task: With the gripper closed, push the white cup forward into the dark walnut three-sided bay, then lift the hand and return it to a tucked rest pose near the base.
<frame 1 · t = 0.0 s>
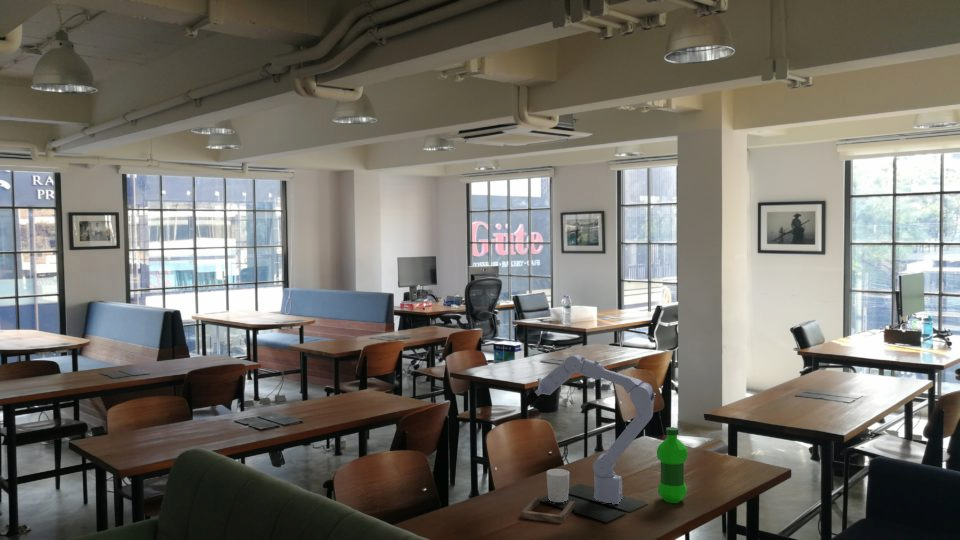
hand: (527, 402, 277), 32 cm above the table, tool tilted 50°, fingers open, 7 cm apart
white cup: (558, 501, 268), on the table
plastic bottle: (672, 501, 267), on the table
walnut bay: (548, 511, 258), on the table
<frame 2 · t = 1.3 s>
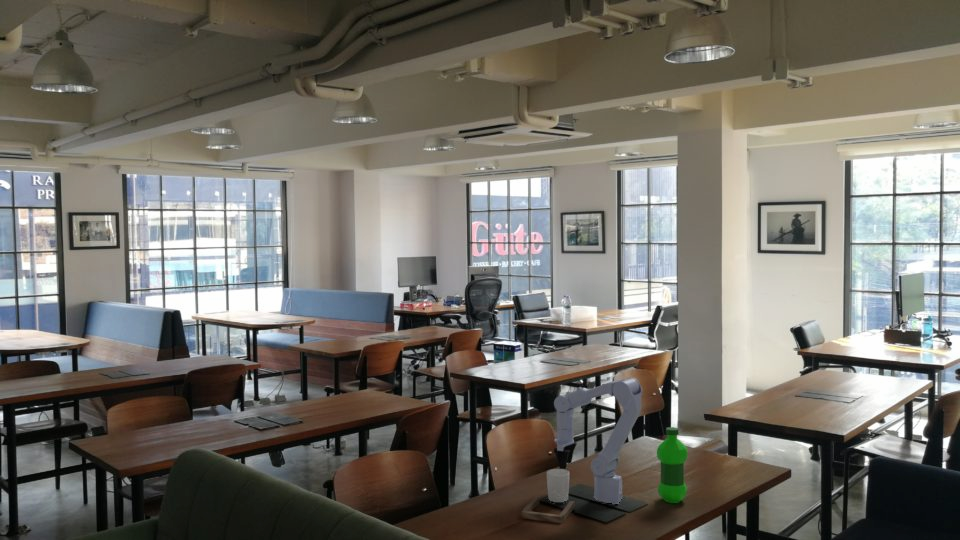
hand: (565, 465, 277), 9 cm above the table, tool pointing down, fingers open, 7 cm apart
nothing on the table moved.
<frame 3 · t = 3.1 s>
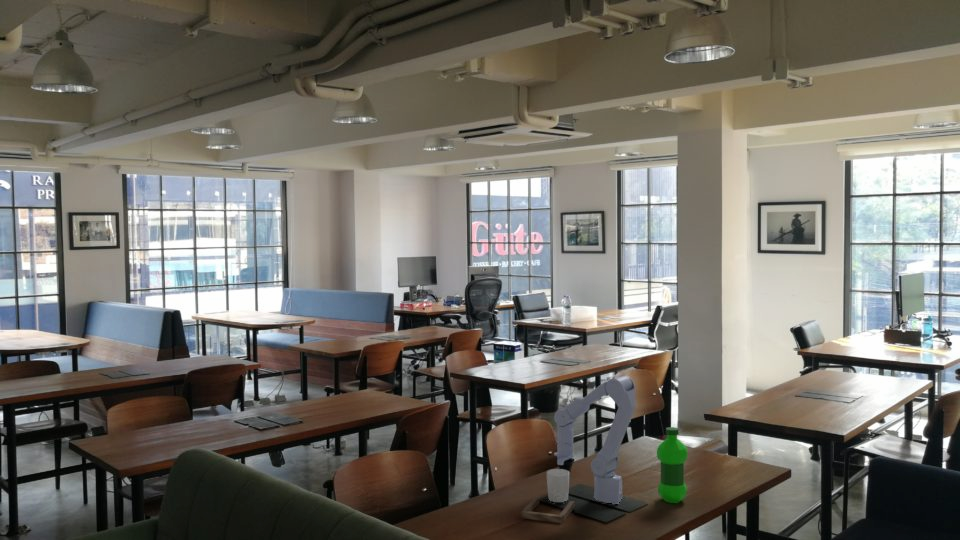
hand: (565, 479, 278), 4 cm above the table, tool pointing down, fingers closed
nothing on the table moved.
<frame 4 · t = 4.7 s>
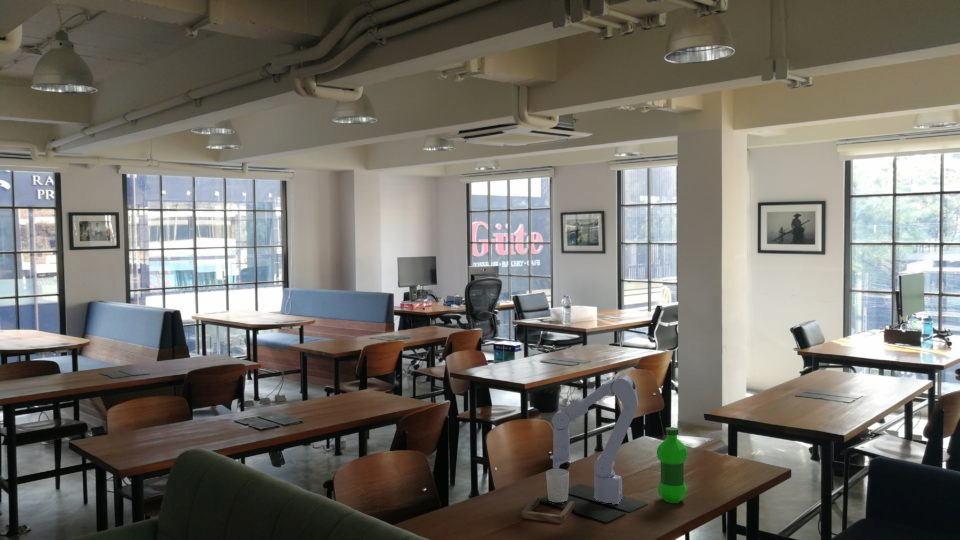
hand: (561, 483, 273), 5 cm above the table, tool pointing down, fingers closed, pressing on white cup
white cup: (558, 501, 268), on the table, touching gripper
everything else where it was.
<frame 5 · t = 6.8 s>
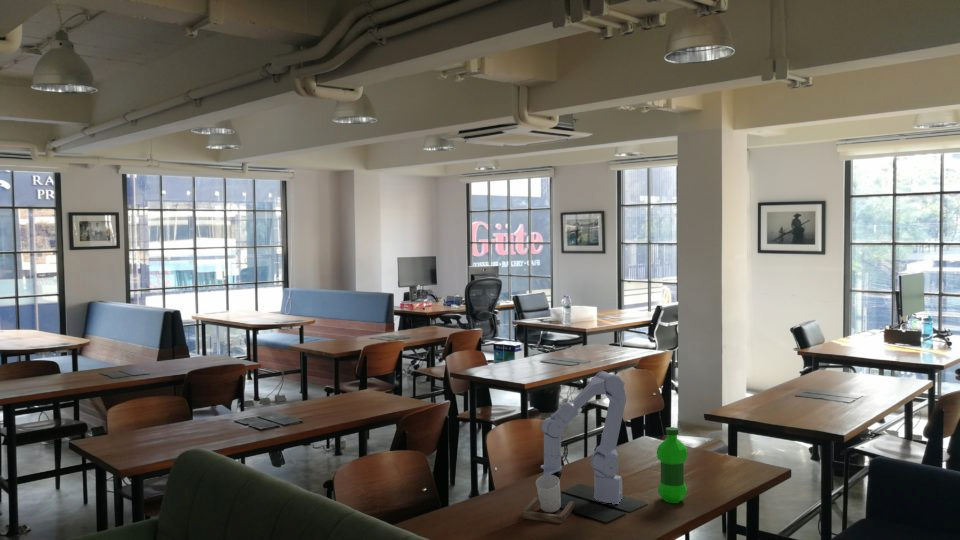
hand: (552, 493, 262), 5 cm above the table, tool pointing down, fingers closed, pressing on white cup
white cup: (550, 506, 260), point 1 cm above the table, touching gripper
everything else where it was.
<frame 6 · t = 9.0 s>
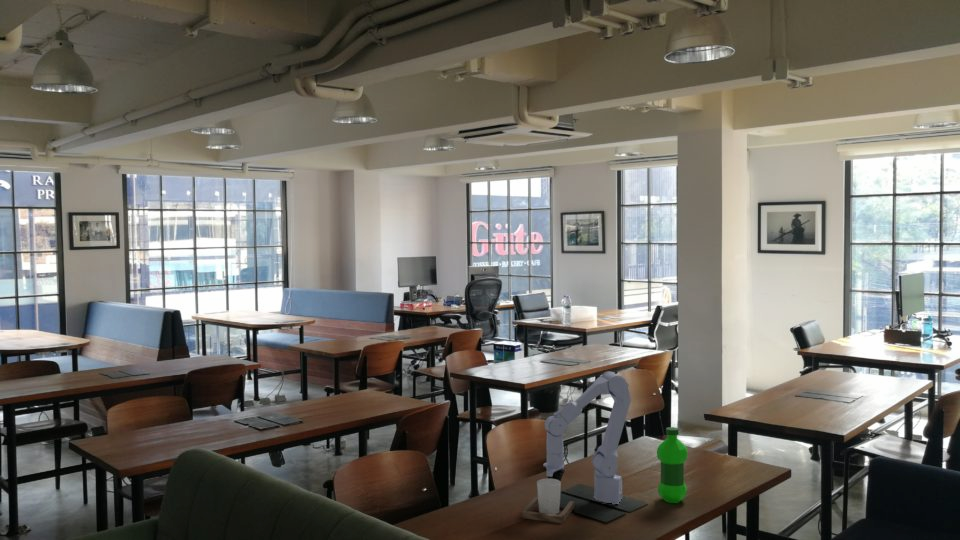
hand: (555, 491, 265), 4 cm above the table, tool pointing down, fingers closed
white cup: (549, 512, 258), resting in walnut bay
everything else where it was.
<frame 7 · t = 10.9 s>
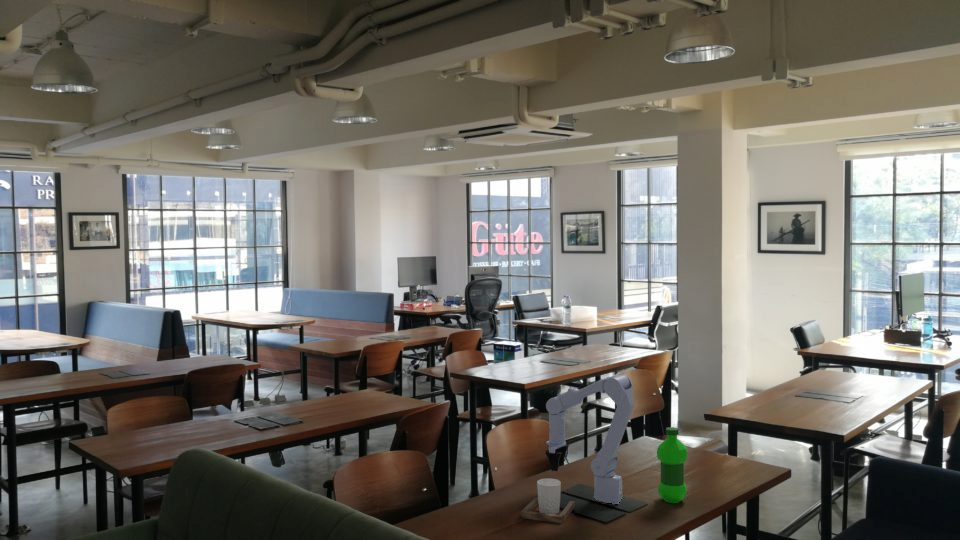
hand: (557, 467, 278), 8 cm above the table, tool pointing down, fingers open, 7 cm apart
nothing on the table moved.
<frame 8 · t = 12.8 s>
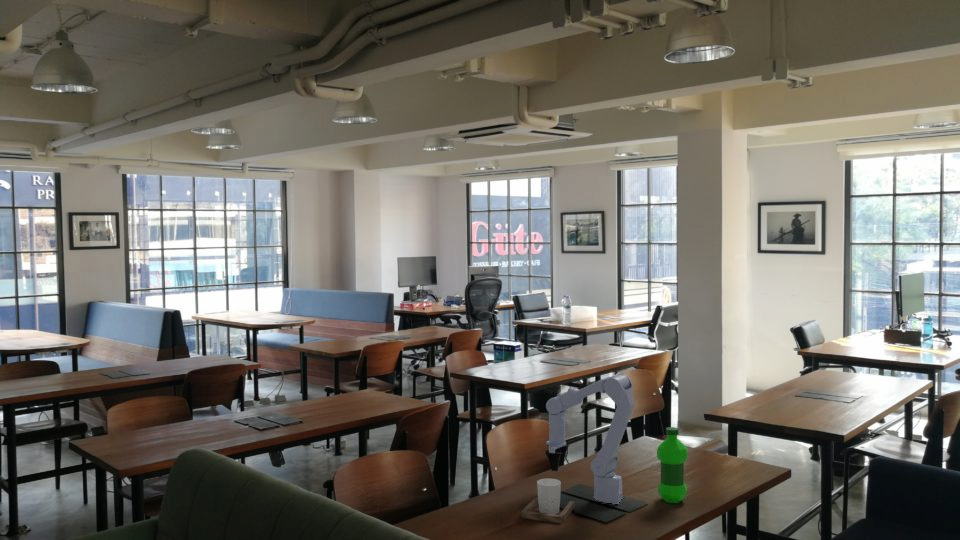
hand: (557, 467, 278), 8 cm above the table, tool pointing down, fingers open, 7 cm apart
nothing on the table moved.
at the end: white cup inside the target area (0.7 cm from its centre), resting in walnut bay; white cup tilted 0°; white cup moved 11.3 cm from its start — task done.
